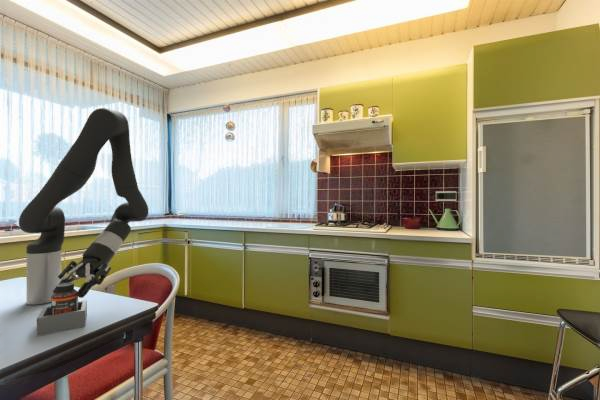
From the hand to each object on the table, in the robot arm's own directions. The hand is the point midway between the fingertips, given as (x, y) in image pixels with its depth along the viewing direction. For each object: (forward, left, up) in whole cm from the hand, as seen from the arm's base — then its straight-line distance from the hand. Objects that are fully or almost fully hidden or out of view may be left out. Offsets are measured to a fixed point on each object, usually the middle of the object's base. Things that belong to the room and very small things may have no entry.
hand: (67, 295), depth 82 cm
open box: (+1, -1, -8) cm, 8 cm away
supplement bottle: (+1, -1, -8) cm, 8 cm away
